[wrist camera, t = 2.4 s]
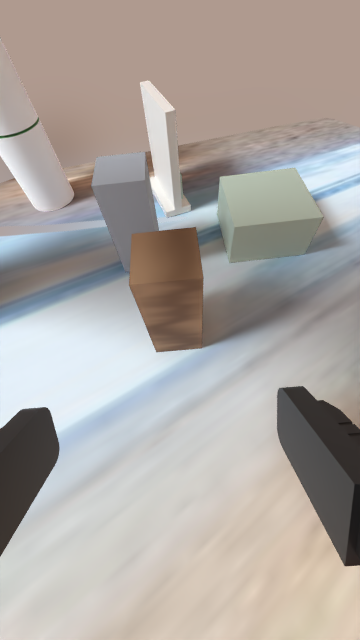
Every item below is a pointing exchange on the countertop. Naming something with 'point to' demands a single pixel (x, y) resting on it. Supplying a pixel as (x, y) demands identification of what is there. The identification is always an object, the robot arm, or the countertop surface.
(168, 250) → the walnut block
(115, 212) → the slate block
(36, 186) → the cylindrical container
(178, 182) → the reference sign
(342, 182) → the countertop surface
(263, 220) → the sage base block
